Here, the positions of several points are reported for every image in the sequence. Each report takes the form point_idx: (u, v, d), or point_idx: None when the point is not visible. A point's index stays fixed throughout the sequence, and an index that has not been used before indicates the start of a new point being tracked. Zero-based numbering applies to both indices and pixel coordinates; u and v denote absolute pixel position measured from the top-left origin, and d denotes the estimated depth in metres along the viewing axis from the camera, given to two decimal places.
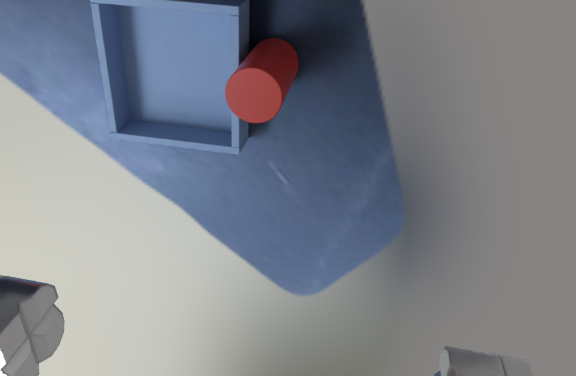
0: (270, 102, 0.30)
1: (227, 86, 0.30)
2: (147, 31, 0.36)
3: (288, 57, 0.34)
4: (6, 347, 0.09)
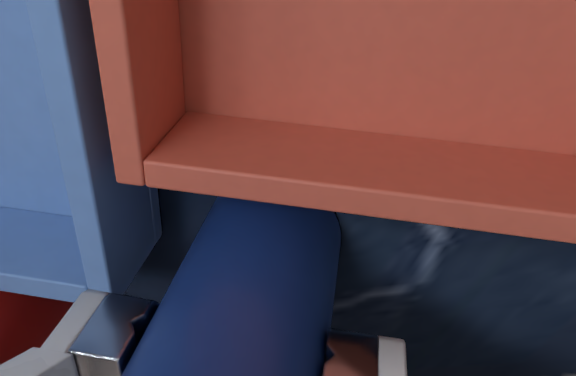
0: None
1: None
2: None
3: None
4: (124, 368, 0.09)
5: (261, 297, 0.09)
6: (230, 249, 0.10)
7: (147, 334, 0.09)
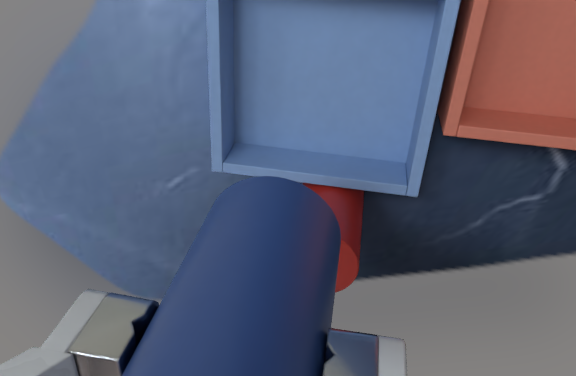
0: None
1: None
2: (382, 29, 0.24)
3: None
4: (124, 368, 0.09)
5: (261, 298, 0.09)
6: (230, 250, 0.10)
7: (147, 335, 0.09)
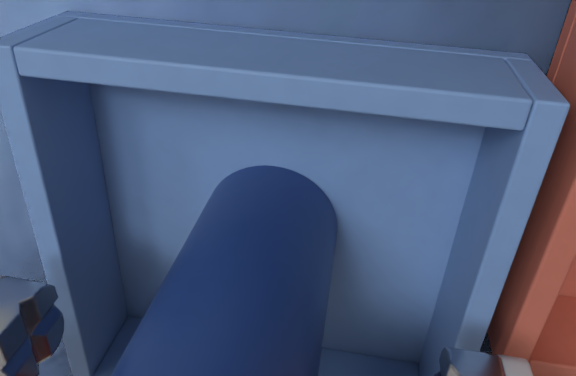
0: None
1: None
2: (377, 159, 0.12)
3: None
4: (5, 347, 0.09)
5: (258, 280, 0.09)
6: (228, 236, 0.10)
7: (146, 316, 0.09)
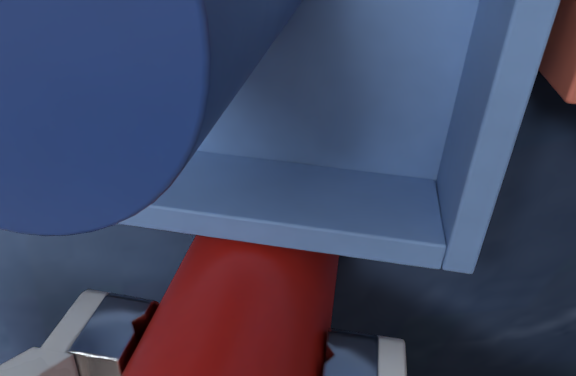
0: None
1: None
2: None
3: None
4: (124, 368, 0.09)
5: None
6: None
7: None
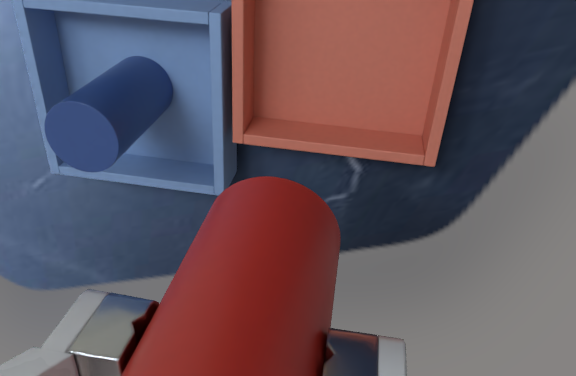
0: None
1: None
2: (183, 51, 0.27)
3: None
4: (124, 368, 0.09)
5: (114, 83, 0.24)
6: (108, 73, 0.25)
7: None
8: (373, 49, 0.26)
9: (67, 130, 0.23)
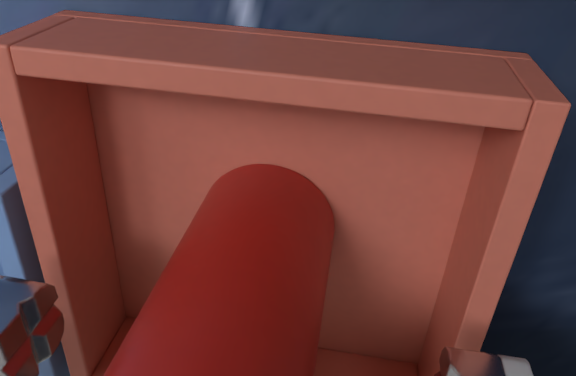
0: None
1: None
2: None
3: None
4: (6, 347, 0.09)
5: None
6: None
7: None
8: None
9: None
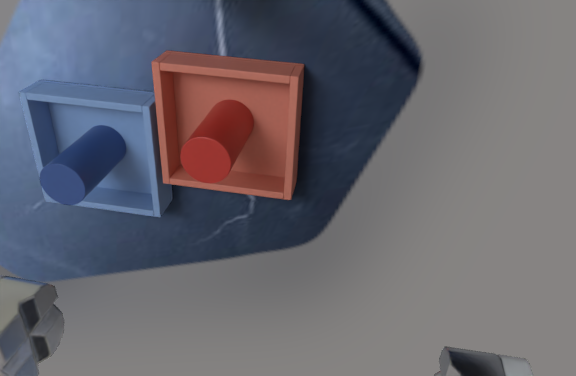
0: (202, 173, 0.34)
1: (211, 140, 0.33)
2: (131, 122, 0.41)
3: None
4: (6, 347, 0.09)
5: (83, 148, 0.38)
6: (80, 140, 0.39)
7: None
8: None
9: (53, 180, 0.37)
